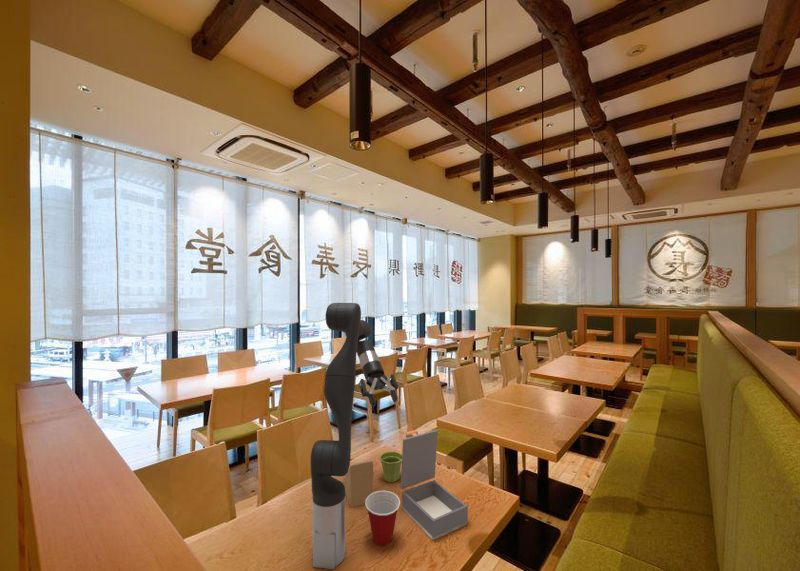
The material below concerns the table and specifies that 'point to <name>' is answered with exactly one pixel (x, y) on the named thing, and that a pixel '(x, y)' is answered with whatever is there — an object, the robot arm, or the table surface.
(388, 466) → the plant pot
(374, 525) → the plastic cup
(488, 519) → the table surface
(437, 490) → the carton
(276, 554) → the table surface
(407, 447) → the carton lid
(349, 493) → the sandwich container
